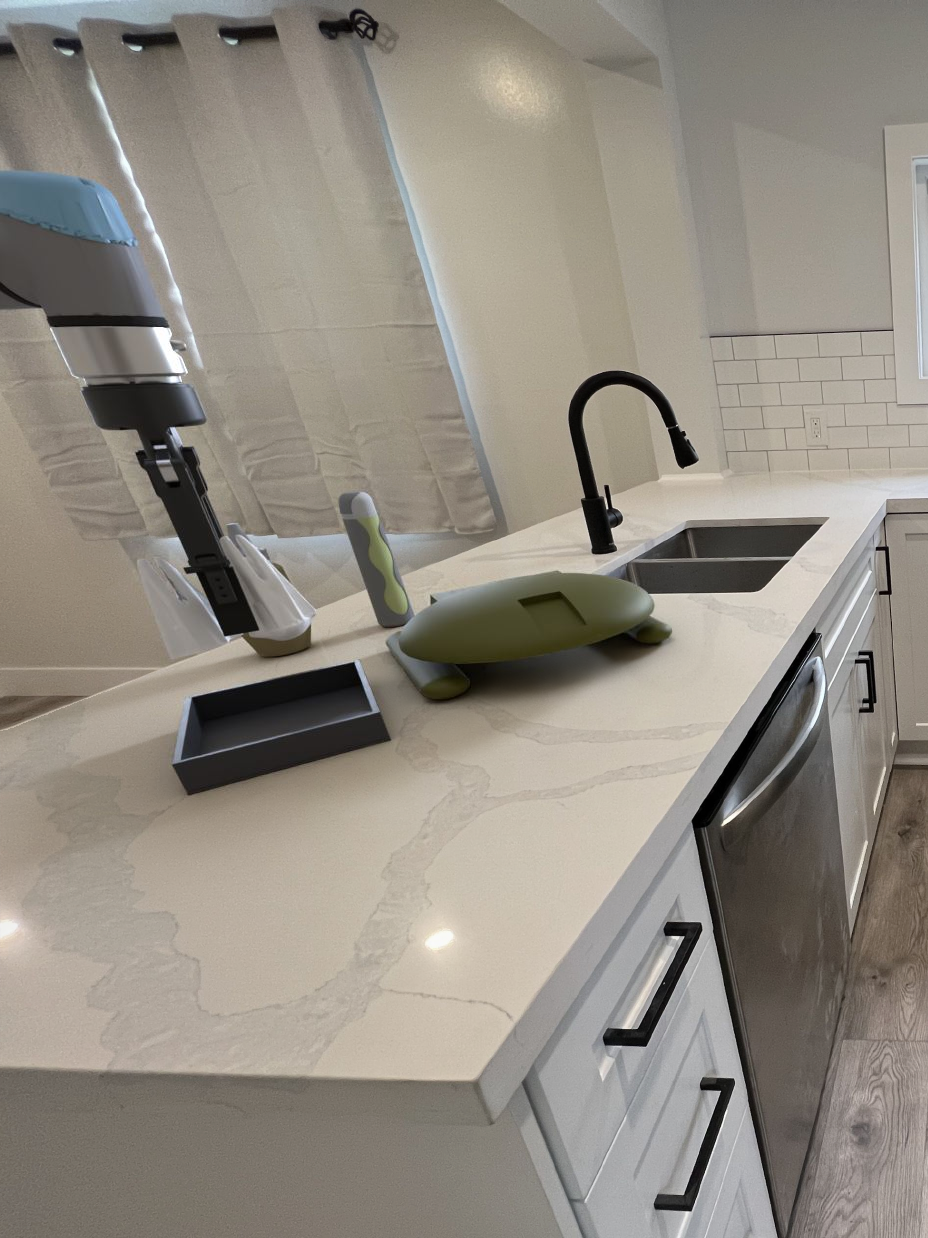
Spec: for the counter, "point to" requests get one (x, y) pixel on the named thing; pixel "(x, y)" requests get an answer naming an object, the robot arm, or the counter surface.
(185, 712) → the dark grey tray
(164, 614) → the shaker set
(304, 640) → the squeeze bottle
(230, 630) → the robot arm
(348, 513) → the grey and green bar
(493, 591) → the spaceship
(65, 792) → the counter surface
